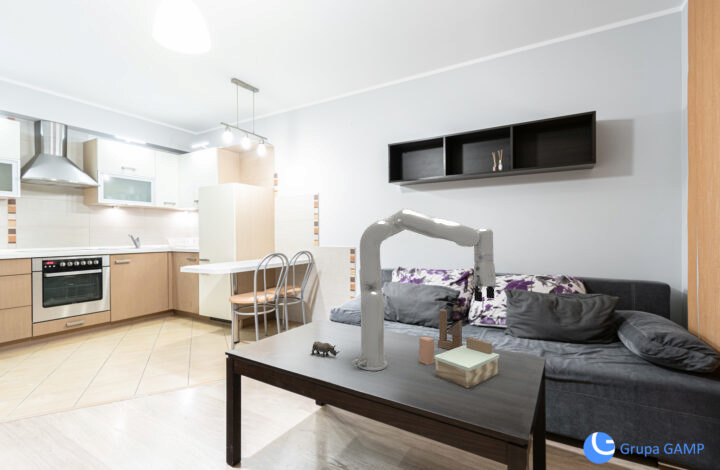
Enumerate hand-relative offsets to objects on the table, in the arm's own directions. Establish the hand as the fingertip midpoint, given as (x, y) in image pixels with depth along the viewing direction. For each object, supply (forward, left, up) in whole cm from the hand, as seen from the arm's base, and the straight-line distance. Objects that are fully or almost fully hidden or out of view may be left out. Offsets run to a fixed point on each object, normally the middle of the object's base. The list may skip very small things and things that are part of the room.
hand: (484, 299), depth 135 cm
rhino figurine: (-46, +51, -27) cm, 73 cm away
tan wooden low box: (-14, -1, -27) cm, 31 cm away
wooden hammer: (+6, +21, -27) cm, 35 cm away
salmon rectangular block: (-16, +17, -27) cm, 36 cm away
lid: (-14, -1, -21) cm, 25 cm away
